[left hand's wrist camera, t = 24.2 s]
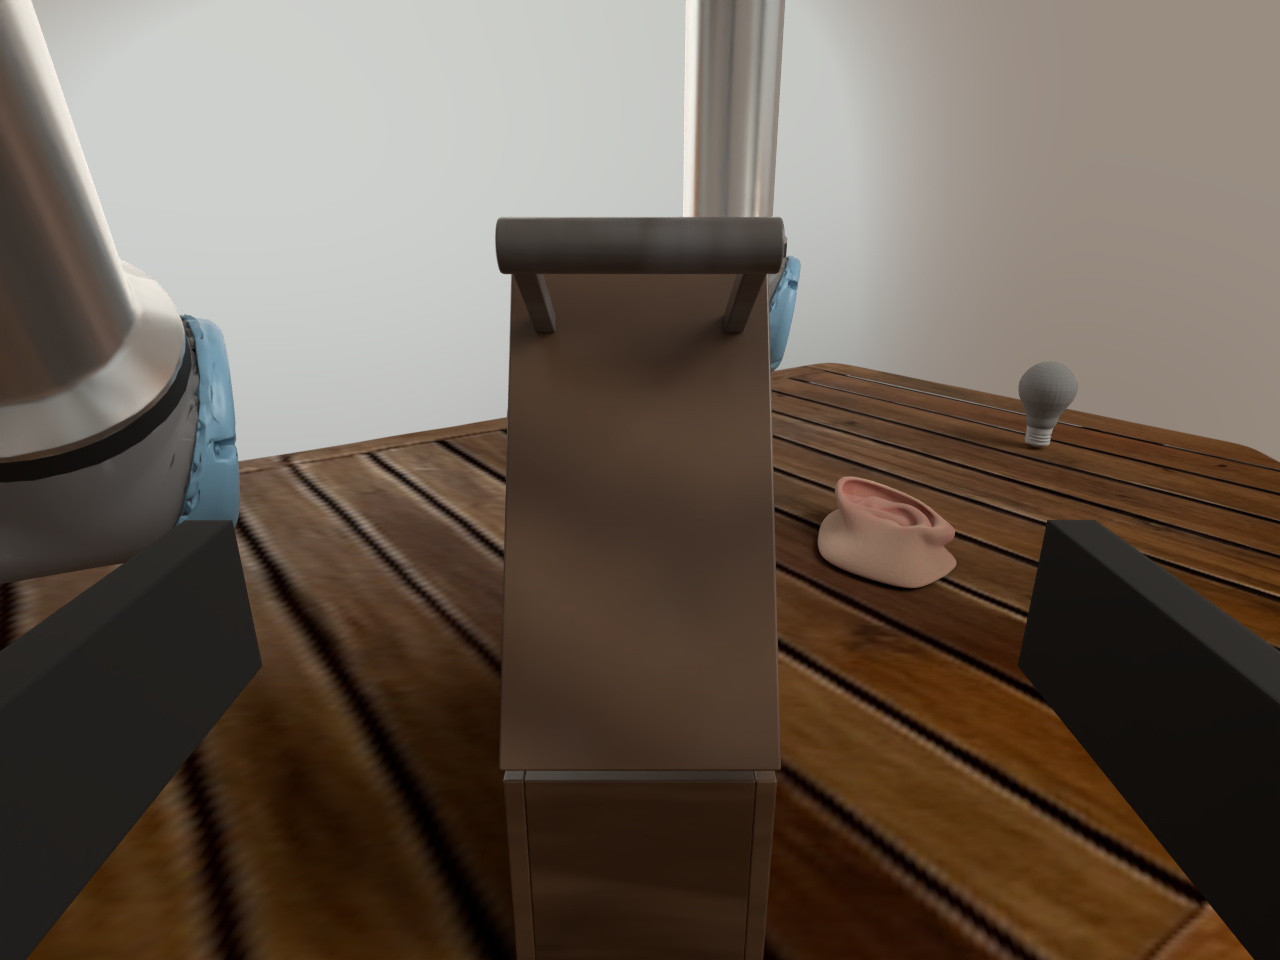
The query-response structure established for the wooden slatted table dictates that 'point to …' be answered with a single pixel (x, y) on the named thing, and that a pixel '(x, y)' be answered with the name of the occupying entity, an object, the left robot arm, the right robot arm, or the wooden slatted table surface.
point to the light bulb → (1045, 399)
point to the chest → (639, 863)
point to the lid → (639, 495)
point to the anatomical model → (885, 535)
